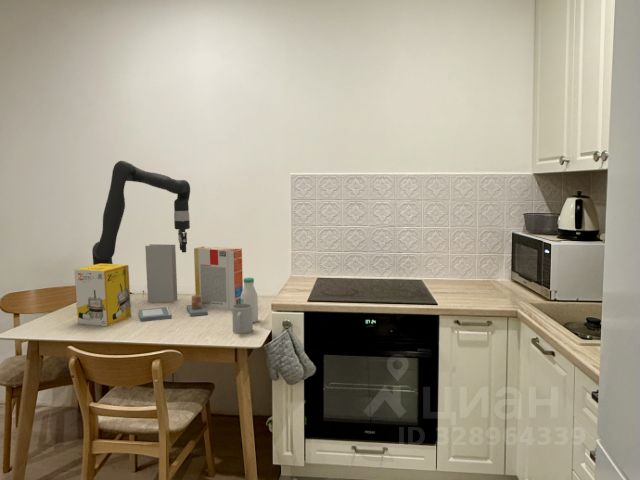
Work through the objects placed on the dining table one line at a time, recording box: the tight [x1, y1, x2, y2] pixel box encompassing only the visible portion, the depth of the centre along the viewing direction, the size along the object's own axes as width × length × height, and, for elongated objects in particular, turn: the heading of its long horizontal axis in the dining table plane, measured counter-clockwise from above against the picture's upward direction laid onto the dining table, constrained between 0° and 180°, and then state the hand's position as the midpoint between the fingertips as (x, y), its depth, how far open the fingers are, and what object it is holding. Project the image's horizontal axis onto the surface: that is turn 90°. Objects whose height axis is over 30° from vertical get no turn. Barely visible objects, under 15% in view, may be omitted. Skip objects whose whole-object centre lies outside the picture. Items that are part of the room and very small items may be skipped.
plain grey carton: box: [145, 244, 178, 303], centre depth 274 cm, size 14×6×30 cm, turn 84°
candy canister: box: [241, 277, 259, 323], centre depth 235 cm, size 8×8×20 cm
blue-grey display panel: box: [138, 306, 172, 322], centre depth 246 cm, size 14×16×2 cm
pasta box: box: [193, 245, 244, 311], centre depth 262 cm, size 23×8×30 cm, turn 69°
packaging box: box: [74, 263, 132, 327], centre depth 238 cm, size 16×16×25 cm
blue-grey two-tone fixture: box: [185, 294, 209, 317], centre depth 253 cm, size 8×16×8 cm, turn 21°
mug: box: [231, 304, 254, 335], centre depth 220 cm, size 12×8×11 cm
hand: (183, 251), depth 263 cm, fingers open, 8 cm apart
